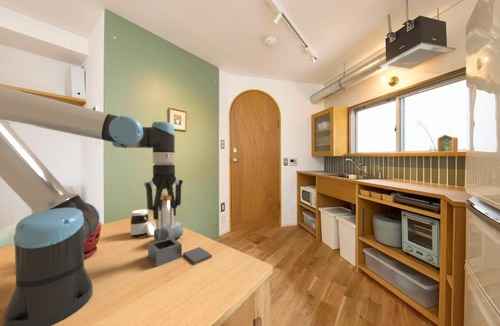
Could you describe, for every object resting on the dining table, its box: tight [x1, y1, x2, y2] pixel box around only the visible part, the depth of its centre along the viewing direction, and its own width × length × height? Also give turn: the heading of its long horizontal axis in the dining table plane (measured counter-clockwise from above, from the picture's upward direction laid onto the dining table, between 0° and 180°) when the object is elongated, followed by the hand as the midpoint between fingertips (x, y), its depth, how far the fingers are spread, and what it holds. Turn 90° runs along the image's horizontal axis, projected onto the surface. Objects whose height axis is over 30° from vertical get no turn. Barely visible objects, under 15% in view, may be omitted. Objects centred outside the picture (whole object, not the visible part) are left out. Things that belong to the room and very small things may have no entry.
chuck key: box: [158, 192, 171, 238], centre depth 71 cm, size 4×8×16 cm, turn 44°
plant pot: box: [84, 221, 102, 260], centre depth 72 cm, size 13×13×12 cm
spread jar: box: [130, 208, 157, 238], centre depth 93 cm, size 12×11×12 cm
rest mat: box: [182, 246, 213, 265], centre depth 72 cm, size 7×9×1 cm
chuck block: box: [147, 237, 183, 268], centre depth 71 cm, size 9×9×5 cm
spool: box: [153, 220, 184, 242], centre depth 86 cm, size 14×10×10 cm
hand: (165, 226), depth 71 cm, fingers closed on chuck key, 4 cm apart
